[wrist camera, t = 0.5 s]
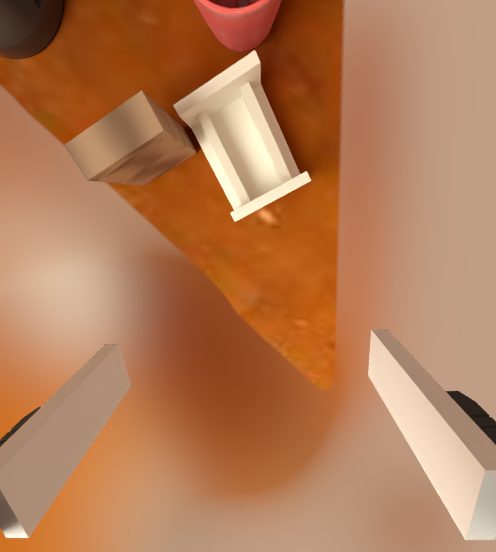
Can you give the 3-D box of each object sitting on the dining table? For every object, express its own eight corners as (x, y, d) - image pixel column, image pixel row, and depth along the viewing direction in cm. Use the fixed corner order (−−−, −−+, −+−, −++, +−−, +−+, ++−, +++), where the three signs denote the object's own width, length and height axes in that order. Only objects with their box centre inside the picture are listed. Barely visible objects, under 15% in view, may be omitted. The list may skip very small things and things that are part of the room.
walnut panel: (143, 186, 36) (87, 180, 24) (129, 162, 35) (63, 144, 23) (197, 153, 34) (164, 130, 22) (183, 127, 33) (141, 89, 22)
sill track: (188, 121, 33) (173, 105, 27) (256, 77, 31) (255, 49, 25) (239, 218, 36) (234, 221, 30) (303, 183, 34) (311, 180, 29)
